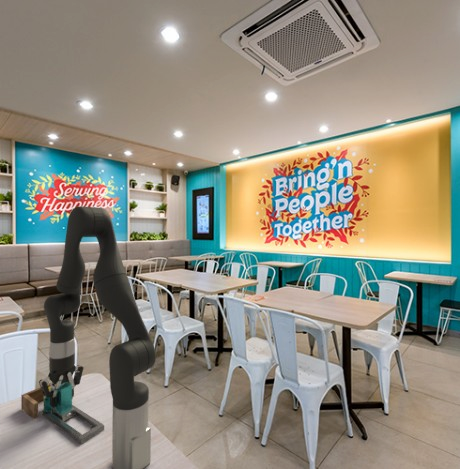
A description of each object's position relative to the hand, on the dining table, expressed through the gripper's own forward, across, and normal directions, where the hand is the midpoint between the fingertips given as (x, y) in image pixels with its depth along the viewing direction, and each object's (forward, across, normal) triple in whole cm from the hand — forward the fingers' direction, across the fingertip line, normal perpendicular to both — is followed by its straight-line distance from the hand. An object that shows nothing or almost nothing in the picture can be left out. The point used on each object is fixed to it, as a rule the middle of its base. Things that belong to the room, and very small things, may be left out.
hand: (62, 402), depth 98 cm
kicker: (+4, 0, -1) cm, 4 cm away
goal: (+4, 0, +10) cm, 11 cm away
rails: (+4, 0, -5) cm, 7 cm away
